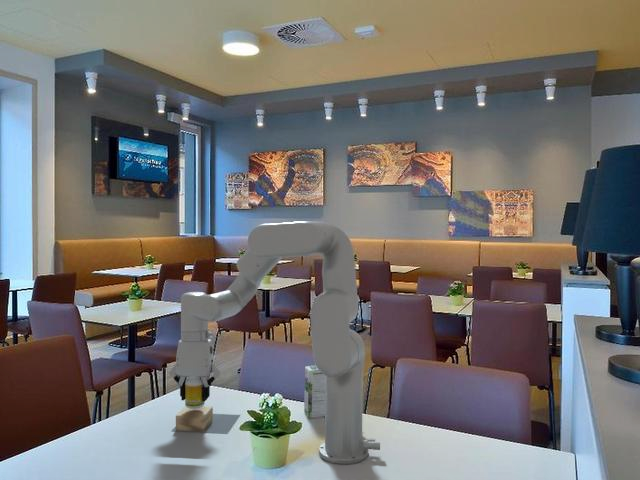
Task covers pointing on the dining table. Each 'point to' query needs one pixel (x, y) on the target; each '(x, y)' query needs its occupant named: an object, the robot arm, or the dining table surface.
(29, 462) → the dining table surface
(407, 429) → the dining table surface
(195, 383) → the supplement bottle
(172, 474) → the dining table surface
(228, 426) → the mat
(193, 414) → the oak block
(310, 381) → the syrup box
